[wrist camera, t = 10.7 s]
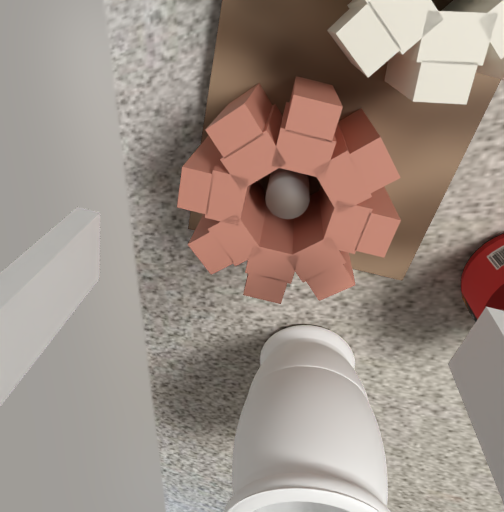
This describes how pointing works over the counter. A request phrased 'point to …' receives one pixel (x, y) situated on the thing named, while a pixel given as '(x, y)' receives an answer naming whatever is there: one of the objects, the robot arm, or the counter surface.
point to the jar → (308, 431)
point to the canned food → (484, 278)
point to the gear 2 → (425, 44)
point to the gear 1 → (298, 160)
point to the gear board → (343, 112)
